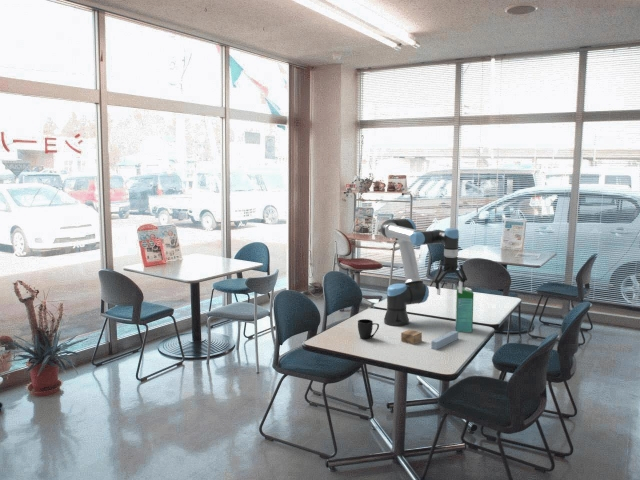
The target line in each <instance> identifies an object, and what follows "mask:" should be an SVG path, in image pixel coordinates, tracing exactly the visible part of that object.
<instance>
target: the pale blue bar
mask: <svg viewBox="0 0 640 480" xmlns="http://www.w3.org/2000/svg"><path fill="white" fill-rule="evenodd" d="M458 339H459V331H456V330H451V331H450V332H447V333H446V334H443V335H442V336H438V337H437V338H436V339H433V340H431V348H430V349H432V350H435V351H437V350H439V349H441V348H443V347H445V346H447V345H449V344H450V343H451V344H452V342H455V341H456V340H458Z"/></svg>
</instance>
